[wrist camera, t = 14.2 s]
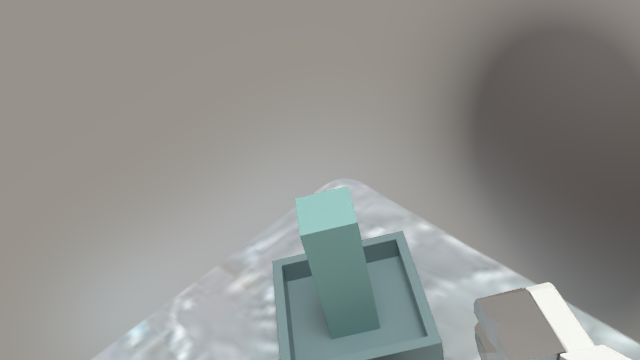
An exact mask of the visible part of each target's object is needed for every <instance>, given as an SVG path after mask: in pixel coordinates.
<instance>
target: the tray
mask: <svg viewBox="0 0 640 360" xmlns="http://www.w3.org/2000/svg"><path fill="white" fill-rule="evenodd" d="M361 241H362V245H363V250H364V255H365V259H366V264H367V268H368V273H369V278H370V282H371V287H372V292H373V296H374V301H375V306H376V310H377V315H378V319H379V324H380V329H376V330H371V331H367V332H363V333H358V334H354V335H350V336H345V337H341V338H337V339H332V337H331V334H330V330H329V327H328V324H327V321H326V318H325V314H324V311H323V308H322V305H321V301H320V298H319V295H318V292H317V289H316V285H315V282H314V279H313V276H312V272H311V269H310V266H309V263H308V260H307V256H306V253H305V254H301V255H297V256H293V257H288V258H284V259H280V260H275V261H272V263H273V276H274V289H275V302H276V314H277V327H278V340H279V352H280V360H444V358H443V348H442V342H441V339H440V336H439V333H438V330H437V327H436V324H435V322H434V319H433V316H432V313H431V310H430V307H429V305H428V302H427V299H426V296H425V293H424V290H423V288H422V285H421V282H420V279H419V276H418V273H417V270H416V268H415V265H414V262H413V259H412V256H411V253H410V251H409V248H408V245H407V242H406V239H405V236H404V234H403V231H400V232H396V233H391V234H387V235H383V236H378V237H374V238H370V239H366V240H361Z"/></svg>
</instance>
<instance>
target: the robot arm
mask: <svg viewBox="0 0 640 360" xmlns="http://www.w3.org/2000/svg"><path fill="white" fill-rule="evenodd" d="M474 313H475V315H476V317H477V319H478V321H479V322H478V323H477V325H476V326H475V339H476V343H477V348H478V352H479V355H480V357H481V360H632V359H630V358H628V357H626V356H624V355H622V354H621V353H619V352H617V351H615V350H613V349H611V348H609V347H608V346H606V345H604V344H601V345H596V346H595V344H594V343H593V341H592V340H591V338H590V337H589V335H588V334H587V333H586V331H585V330H584V328H583V327H582V325H581V324H580V323H579V321H578V320H577V318H576V317H575V315H574V314H573V312H572V311H571V310H570V308H569V307H568V305H567V304H566V302H565V301H564V300H563V298H562V297H561V295H560V294H559V292H558V291H557V290H556V288H555V287H554V286H553V285H552V284H551V283H549V282H547V283H543V284H539V285H535V286H530V287H526V288H520V289H516V290H512V291H508V292H504V293H500V294H496V295H492V296H488V297H484V298H480V299H476V300H475V303H474Z"/></svg>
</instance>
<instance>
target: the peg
mask: <svg viewBox="0 0 640 360" xmlns="http://www.w3.org/2000/svg"><path fill="white" fill-rule="evenodd" d="M295 203H296V210H297V217H298V224H299V231H300V237H301V240H302V243H303V247H304V250H305V253H306V256H307V260H308V263H309V266H310V269H311V272H312V276H313V279H314V282H315V285H316V289H317V292H318V295H319V298H320V301H321V305H322V308H323V311H324V314H325V318H326V321H327V324H328V327H329V330H330V334H331V337H332V339H337V338H341V337H345V336H350V335H354V334H358V333H363V332H367V331H371V330H376V329H380V324H379V319H378V315H377V310H376V306H375V301H374V296H373V292H372V287H371V282H370V278H369V273H368V268H367V264H366V259H365V255H364V250H363V245H362V241H361V236H360V231H359V227H358V222H357V218H356V215H355V211H354V207H353V203H352V200H351V196H350V192H349V188H348V186H346V187H342V188H338V189H333V190H329V191H325V192H321V193H316V194H312V195H308V196H304V197H300V198H295Z"/></svg>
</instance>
